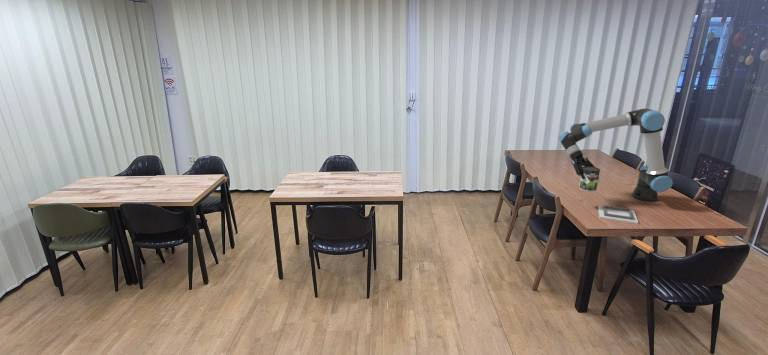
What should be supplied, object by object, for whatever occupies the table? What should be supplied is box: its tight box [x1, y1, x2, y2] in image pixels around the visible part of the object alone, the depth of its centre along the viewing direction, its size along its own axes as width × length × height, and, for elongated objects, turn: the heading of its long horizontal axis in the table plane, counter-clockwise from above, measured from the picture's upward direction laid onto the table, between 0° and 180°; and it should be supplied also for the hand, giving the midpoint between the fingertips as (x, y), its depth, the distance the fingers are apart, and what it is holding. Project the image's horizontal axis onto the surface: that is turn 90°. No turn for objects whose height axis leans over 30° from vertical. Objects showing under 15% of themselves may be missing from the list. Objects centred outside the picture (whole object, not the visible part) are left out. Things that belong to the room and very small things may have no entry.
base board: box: [597, 205, 639, 225], centre depth 227 cm, size 20×20×2 cm
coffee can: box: [578, 166, 601, 192], centre depth 235 cm, size 10×10×14 cm
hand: (593, 181), depth 232 cm, fingers closed on coffee can, 10 cm apart
